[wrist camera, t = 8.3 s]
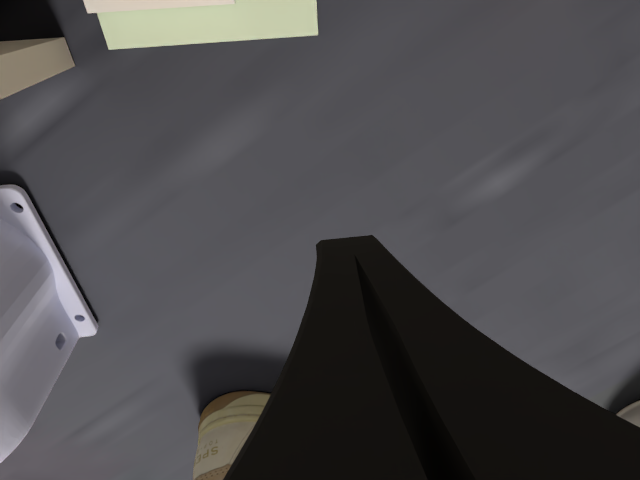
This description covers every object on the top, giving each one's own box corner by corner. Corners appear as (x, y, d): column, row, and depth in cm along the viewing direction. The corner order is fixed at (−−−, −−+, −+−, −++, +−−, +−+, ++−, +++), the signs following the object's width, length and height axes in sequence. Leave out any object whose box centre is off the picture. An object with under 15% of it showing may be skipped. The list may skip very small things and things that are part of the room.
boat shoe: (498, 418, 34) (554, 525, 27) (441, 468, 38) (478, 572, 31) (219, 367, 26) (202, 499, 19) (188, 437, 30) (164, 565, 24)
